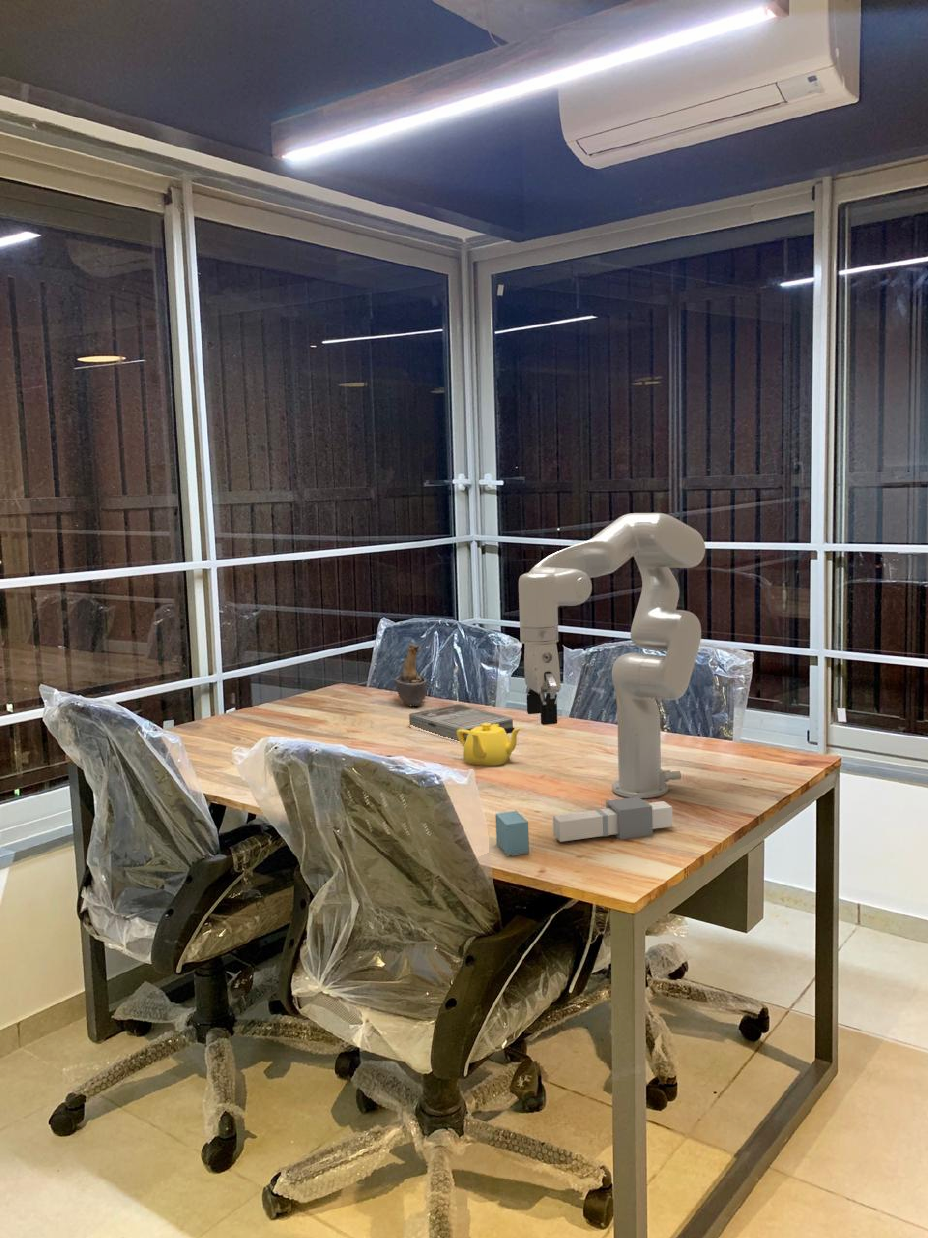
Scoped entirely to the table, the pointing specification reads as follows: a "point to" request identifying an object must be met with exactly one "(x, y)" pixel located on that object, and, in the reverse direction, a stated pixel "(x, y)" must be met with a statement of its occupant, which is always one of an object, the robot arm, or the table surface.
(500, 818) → the socket
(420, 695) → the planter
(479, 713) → the hard drive
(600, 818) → the bar
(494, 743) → the teapot
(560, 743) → the table surface
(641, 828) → the sleeve
